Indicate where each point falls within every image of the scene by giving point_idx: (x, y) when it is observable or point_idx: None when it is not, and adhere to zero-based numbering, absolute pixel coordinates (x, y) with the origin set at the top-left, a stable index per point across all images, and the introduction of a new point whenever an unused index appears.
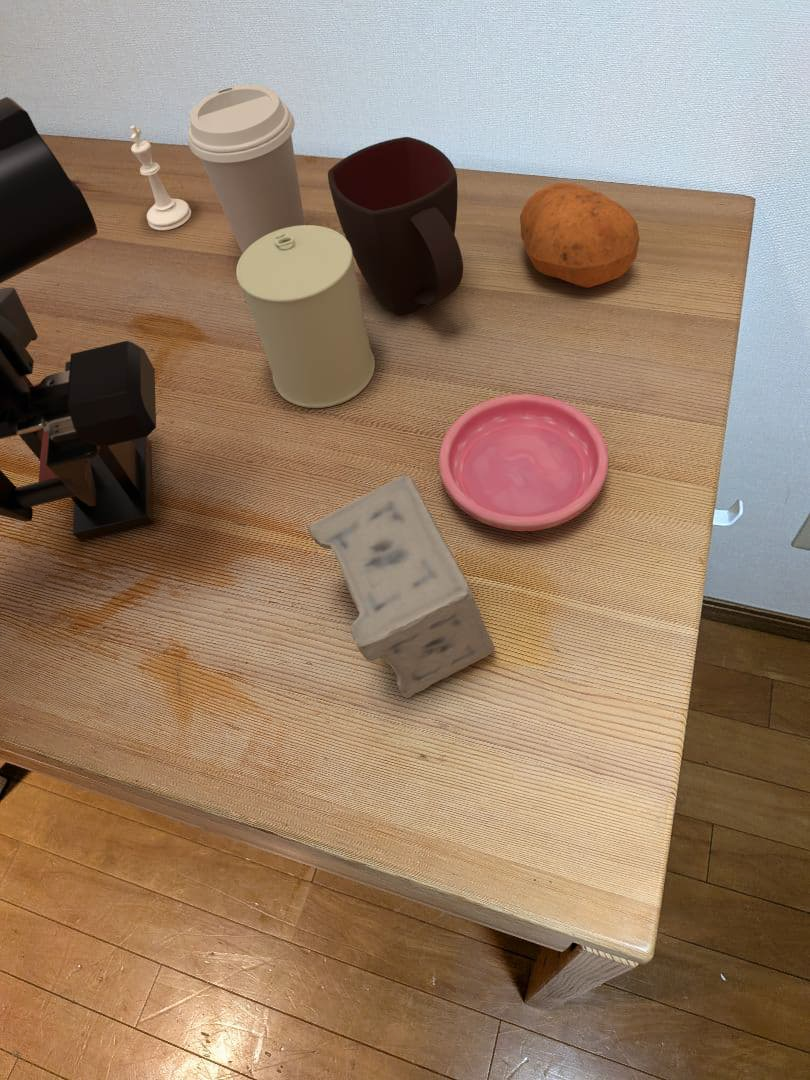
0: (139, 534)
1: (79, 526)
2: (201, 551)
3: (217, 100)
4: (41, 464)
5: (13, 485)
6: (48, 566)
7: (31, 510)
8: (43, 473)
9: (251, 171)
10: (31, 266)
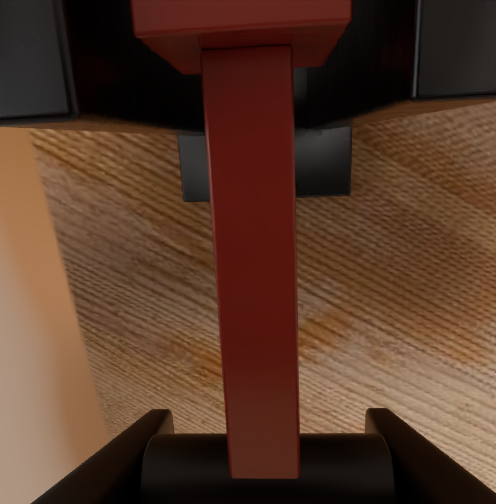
0: (314, 209)
1: (196, 186)
2: (436, 282)
3: None
4: (231, 388)
5: (128, 486)
6: (133, 239)
7: (170, 421)
8: (247, 440)
9: None
10: None
